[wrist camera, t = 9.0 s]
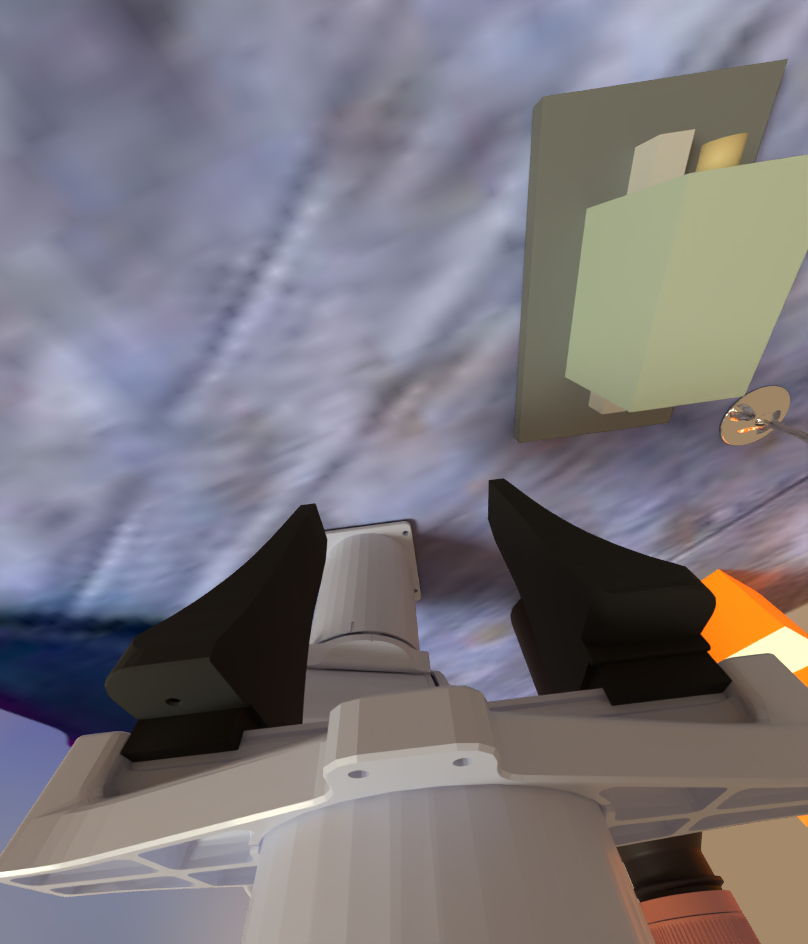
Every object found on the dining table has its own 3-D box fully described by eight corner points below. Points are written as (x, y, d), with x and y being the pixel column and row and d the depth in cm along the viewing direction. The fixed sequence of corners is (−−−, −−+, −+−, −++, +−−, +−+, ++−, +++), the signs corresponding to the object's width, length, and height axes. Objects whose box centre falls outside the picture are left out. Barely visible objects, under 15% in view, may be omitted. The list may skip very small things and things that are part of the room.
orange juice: (759, 592, 33) (1156, 924, 16) (684, 638, 37) (943, 947, 20) (717, 568, 31) (1132, 926, 14) (642, 619, 35) (895, 952, 18)
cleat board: (657, 417, 22) (687, 432, 20) (513, 436, 22) (527, 453, 20) (763, 72, 14) (831, 35, 12) (533, 107, 14) (560, 77, 12)
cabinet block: (648, 364, 19) (744, 396, 14) (565, 376, 19) (630, 412, 14) (700, 163, 15) (871, 101, 10) (590, 181, 15) (700, 128, 10)
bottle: (511, 591, 31) (668, 977, 14) (581, 582, 31) (827, 959, 14) (507, 632, 34) (629, 980, 17) (570, 625, 34) (755, 967, 17)
